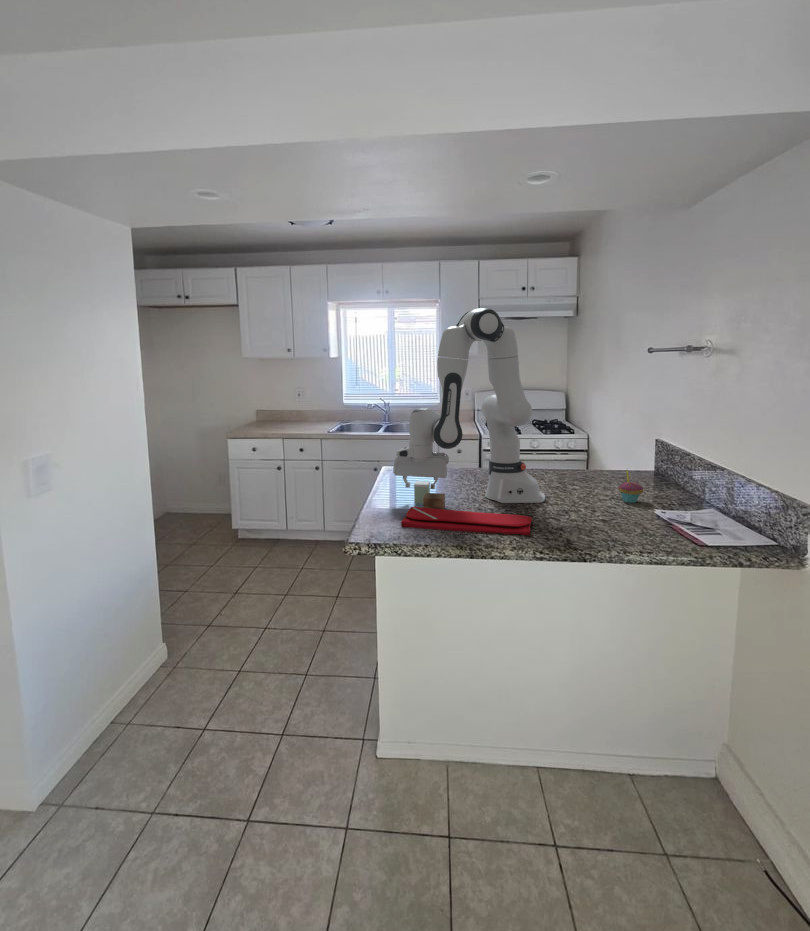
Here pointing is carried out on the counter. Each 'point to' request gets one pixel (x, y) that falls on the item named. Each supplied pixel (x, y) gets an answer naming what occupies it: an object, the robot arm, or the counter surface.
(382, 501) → the counter surface
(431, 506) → the walnut block
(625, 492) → the cupcake
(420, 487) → the sage tin
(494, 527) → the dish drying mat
